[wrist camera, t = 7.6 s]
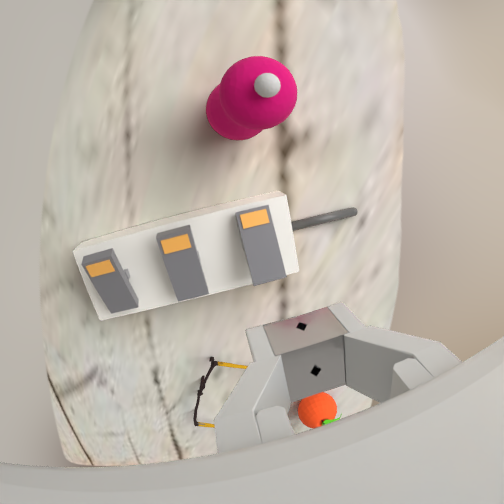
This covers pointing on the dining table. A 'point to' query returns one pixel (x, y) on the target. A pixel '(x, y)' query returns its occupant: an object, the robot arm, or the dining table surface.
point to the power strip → (208, 247)
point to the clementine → (317, 410)
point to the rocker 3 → (260, 245)
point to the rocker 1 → (110, 280)
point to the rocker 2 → (182, 262)
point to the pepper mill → (251, 98)
